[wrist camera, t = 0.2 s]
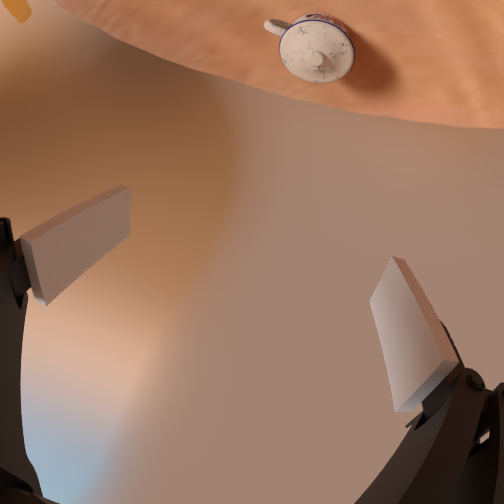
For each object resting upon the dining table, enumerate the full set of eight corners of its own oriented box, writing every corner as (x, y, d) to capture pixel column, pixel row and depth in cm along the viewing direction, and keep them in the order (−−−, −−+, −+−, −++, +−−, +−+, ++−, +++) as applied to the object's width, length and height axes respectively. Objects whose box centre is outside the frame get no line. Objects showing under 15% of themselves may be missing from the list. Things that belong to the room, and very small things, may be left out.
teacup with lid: (362, 30, 26) (371, 52, 20) (333, 72, 34) (331, 105, 28) (284, -8, 23) (267, 0, 18) (261, 39, 31) (239, 63, 26)
